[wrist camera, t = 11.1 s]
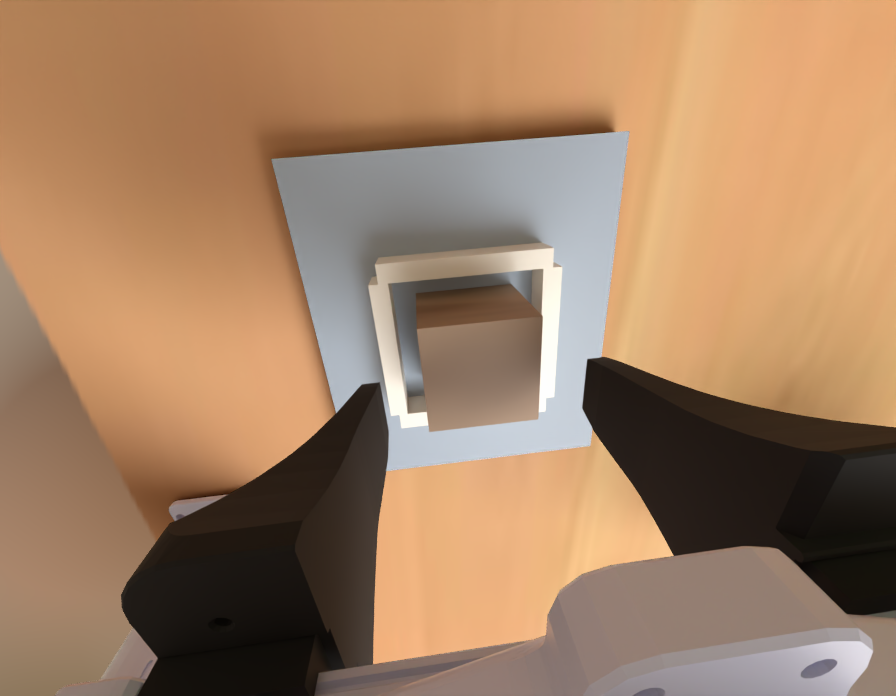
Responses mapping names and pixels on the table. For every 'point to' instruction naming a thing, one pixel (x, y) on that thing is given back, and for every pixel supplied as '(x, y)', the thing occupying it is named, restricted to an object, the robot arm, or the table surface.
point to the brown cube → (479, 356)
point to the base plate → (457, 270)
